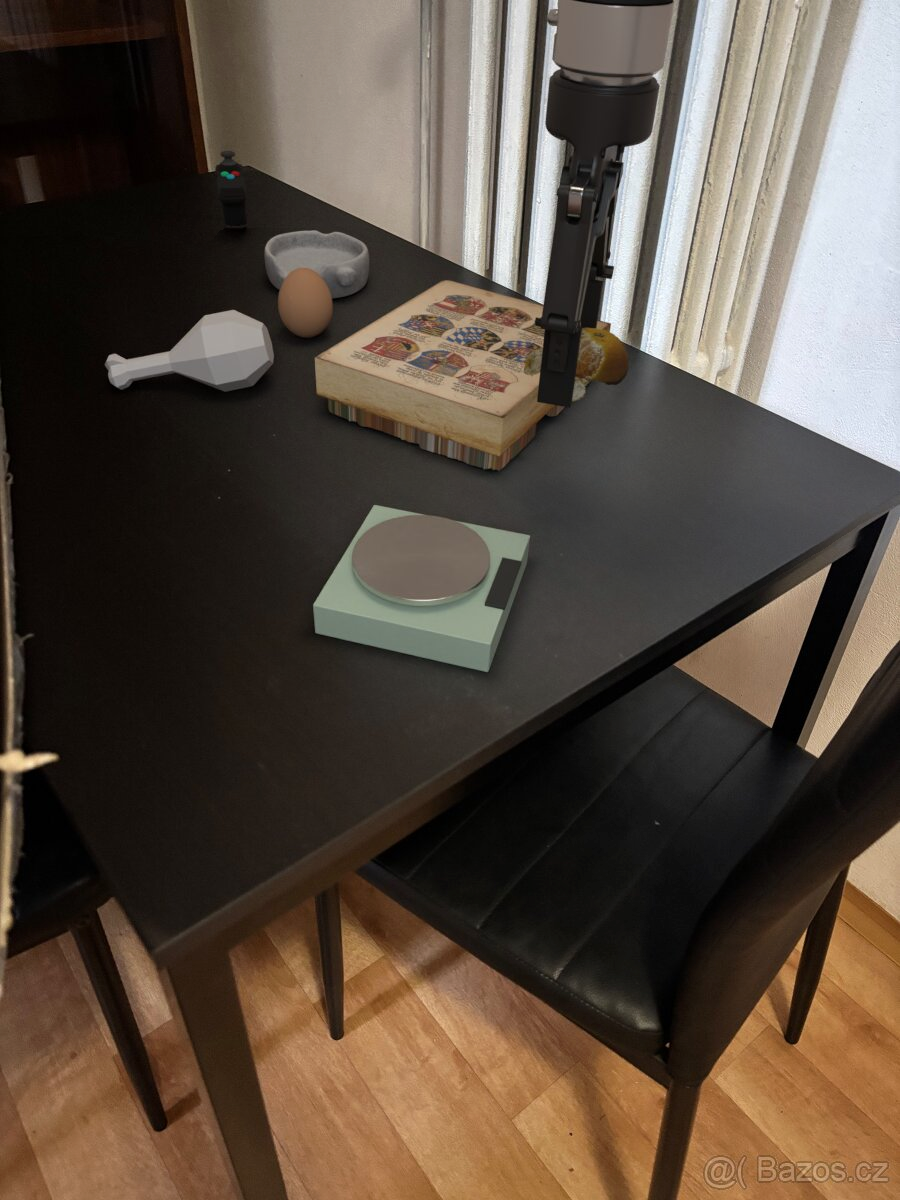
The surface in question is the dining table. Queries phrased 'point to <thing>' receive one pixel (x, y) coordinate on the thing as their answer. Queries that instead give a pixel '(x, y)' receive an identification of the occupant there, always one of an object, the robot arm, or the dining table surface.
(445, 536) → the scale pan
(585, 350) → the fruit
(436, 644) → the scale
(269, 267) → the dish
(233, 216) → the controller
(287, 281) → the egg
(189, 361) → the chicken leg
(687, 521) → the dining table surface
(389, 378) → the book
